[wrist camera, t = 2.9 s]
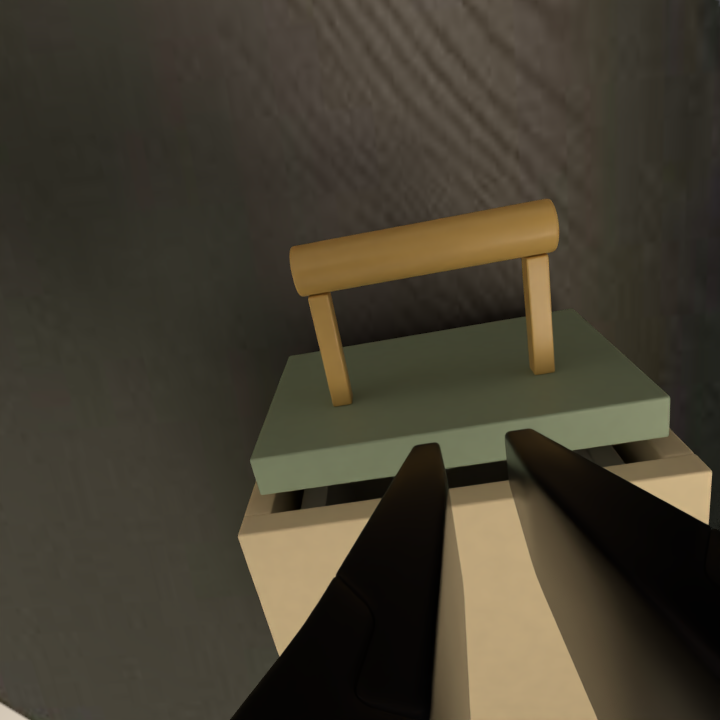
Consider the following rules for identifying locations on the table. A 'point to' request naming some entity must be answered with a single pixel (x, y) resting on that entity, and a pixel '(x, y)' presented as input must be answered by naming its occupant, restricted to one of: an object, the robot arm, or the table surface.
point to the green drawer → (445, 369)
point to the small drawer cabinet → (463, 576)
